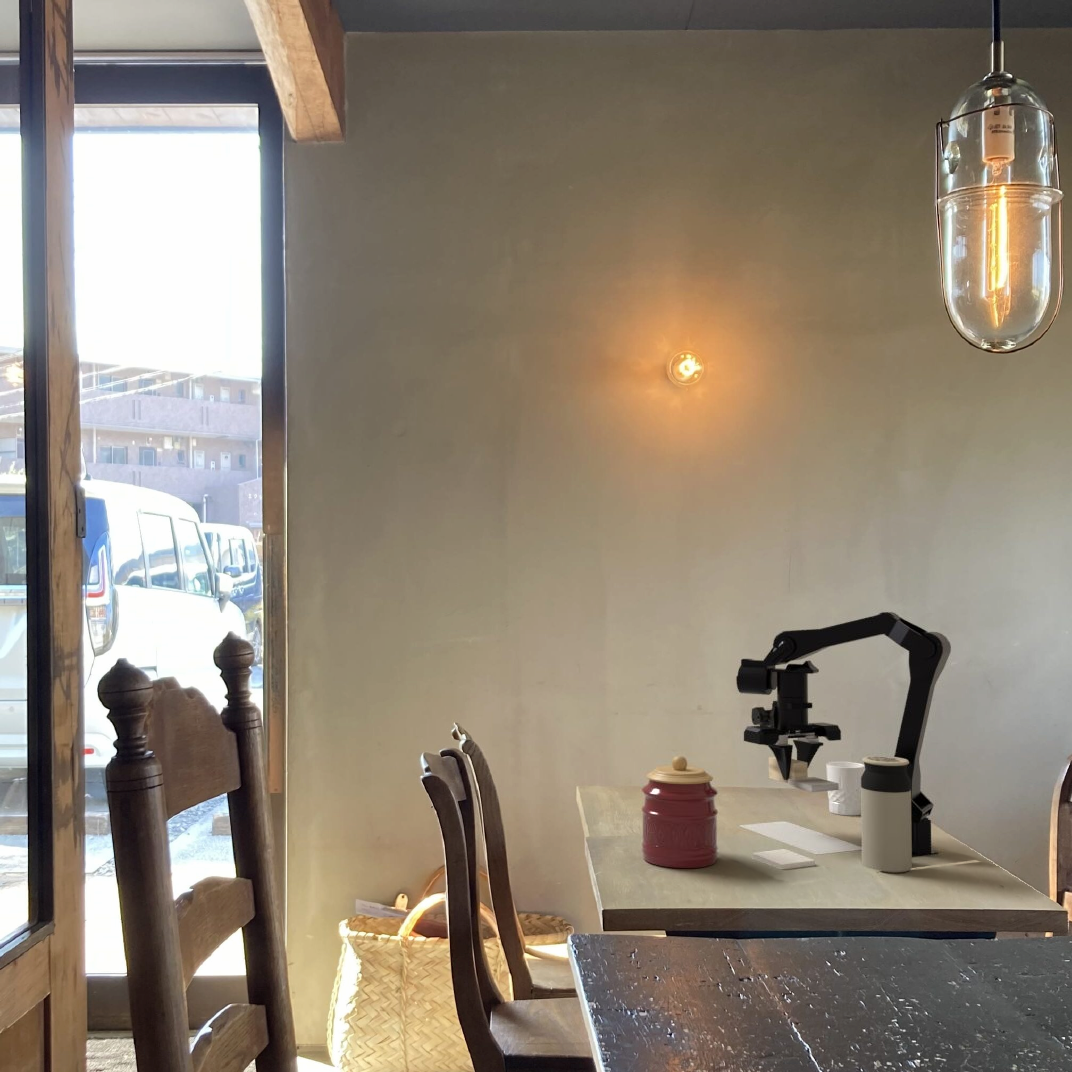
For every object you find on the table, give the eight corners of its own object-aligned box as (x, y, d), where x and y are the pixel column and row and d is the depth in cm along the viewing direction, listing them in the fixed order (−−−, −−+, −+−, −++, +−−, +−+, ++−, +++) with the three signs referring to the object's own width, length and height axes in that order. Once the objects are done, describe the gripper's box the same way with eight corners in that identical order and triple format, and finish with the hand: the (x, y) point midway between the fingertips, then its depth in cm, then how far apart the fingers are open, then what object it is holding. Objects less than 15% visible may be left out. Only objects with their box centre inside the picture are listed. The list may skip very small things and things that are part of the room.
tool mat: (867, 851, 184) (867, 848, 184) (817, 856, 180) (817, 854, 180) (784, 823, 206) (784, 821, 206) (738, 827, 202) (738, 825, 202)
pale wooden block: (838, 790, 188) (838, 767, 188) (811, 792, 185) (811, 769, 185) (788, 776, 201) (787, 755, 202) (762, 778, 199) (762, 757, 199)
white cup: (861, 809, 220) (860, 761, 221) (869, 817, 212) (868, 768, 213) (823, 808, 221) (823, 761, 222) (830, 816, 213) (829, 767, 214)
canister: (721, 853, 181) (721, 752, 182) (713, 872, 169) (713, 763, 170) (648, 848, 185) (648, 748, 186) (635, 866, 172) (635, 759, 173)
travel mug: (879, 875, 168) (878, 763, 169) (852, 863, 176) (851, 756, 177) (922, 872, 170) (920, 762, 171) (893, 860, 178) (891, 754, 179)
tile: (784, 858, 180) (815, 870, 172) (751, 862, 177) (781, 875, 170) (784, 848, 180) (815, 860, 173) (751, 853, 177) (781, 864, 170)
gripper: (805, 691, 207) (806, 769, 206) (727, 694, 200) (727, 775, 199) (842, 696, 197) (843, 779, 196) (761, 699, 190) (761, 785, 189)
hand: (793, 779), depth 195 cm, fingers closed on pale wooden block, 3 cm apart
